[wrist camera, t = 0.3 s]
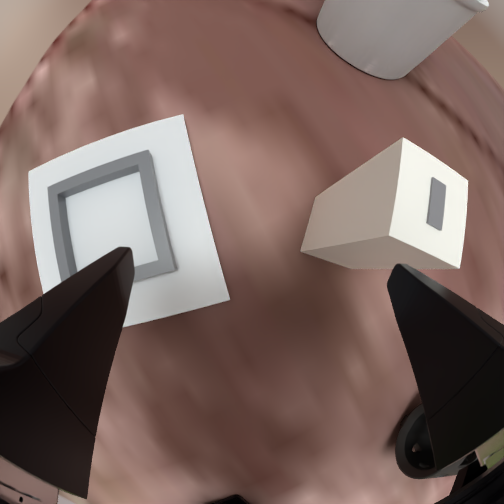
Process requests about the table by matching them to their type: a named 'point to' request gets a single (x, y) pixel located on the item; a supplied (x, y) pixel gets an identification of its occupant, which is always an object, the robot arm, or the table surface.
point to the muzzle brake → (422, 449)
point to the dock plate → (130, 218)
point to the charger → (391, 214)
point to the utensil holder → (391, 31)
